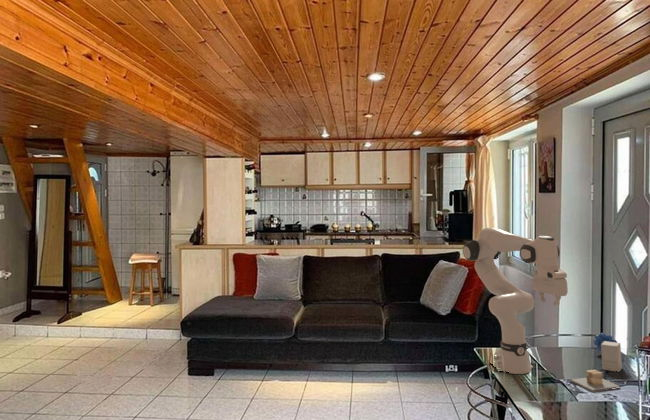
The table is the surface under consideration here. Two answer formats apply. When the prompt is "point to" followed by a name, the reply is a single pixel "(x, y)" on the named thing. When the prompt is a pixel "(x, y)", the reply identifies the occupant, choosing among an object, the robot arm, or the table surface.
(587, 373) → the birch block
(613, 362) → the supplement box
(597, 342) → the grapes
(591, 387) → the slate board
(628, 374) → the table surface
